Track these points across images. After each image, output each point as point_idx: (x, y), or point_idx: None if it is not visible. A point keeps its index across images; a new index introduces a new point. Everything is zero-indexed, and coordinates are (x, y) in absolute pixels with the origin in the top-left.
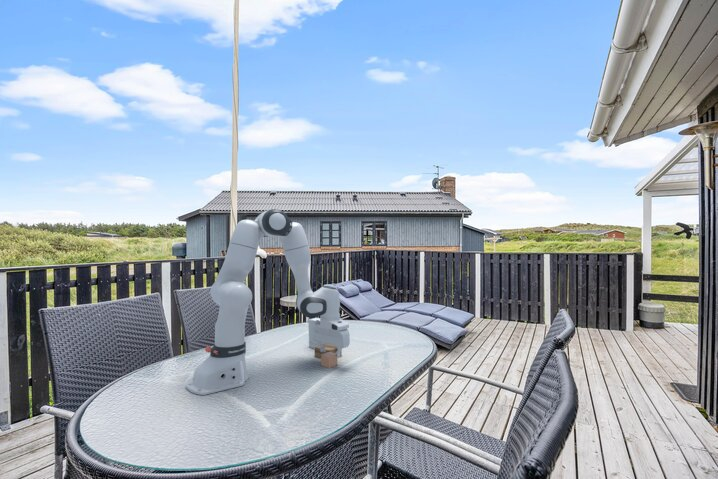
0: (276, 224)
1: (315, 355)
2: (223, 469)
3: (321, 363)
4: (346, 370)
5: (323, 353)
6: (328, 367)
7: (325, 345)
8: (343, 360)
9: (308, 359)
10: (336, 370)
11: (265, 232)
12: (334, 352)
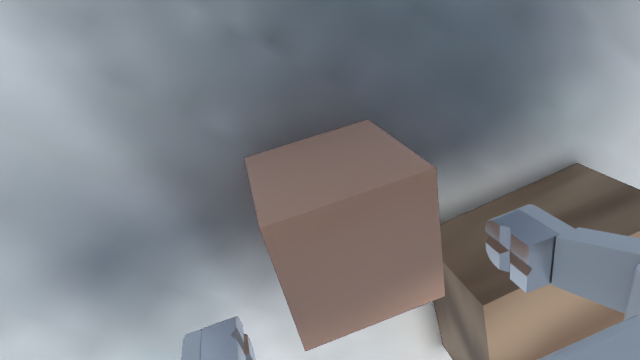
0: None
1: (584, 174)
2: None
3: (373, 126)
4: (81, 283)
5: None
6: (256, 155)
7: (622, 316)
8: (354, 333)
9: (583, 85)
10: (129, 196)
11: None
12: (463, 330)
